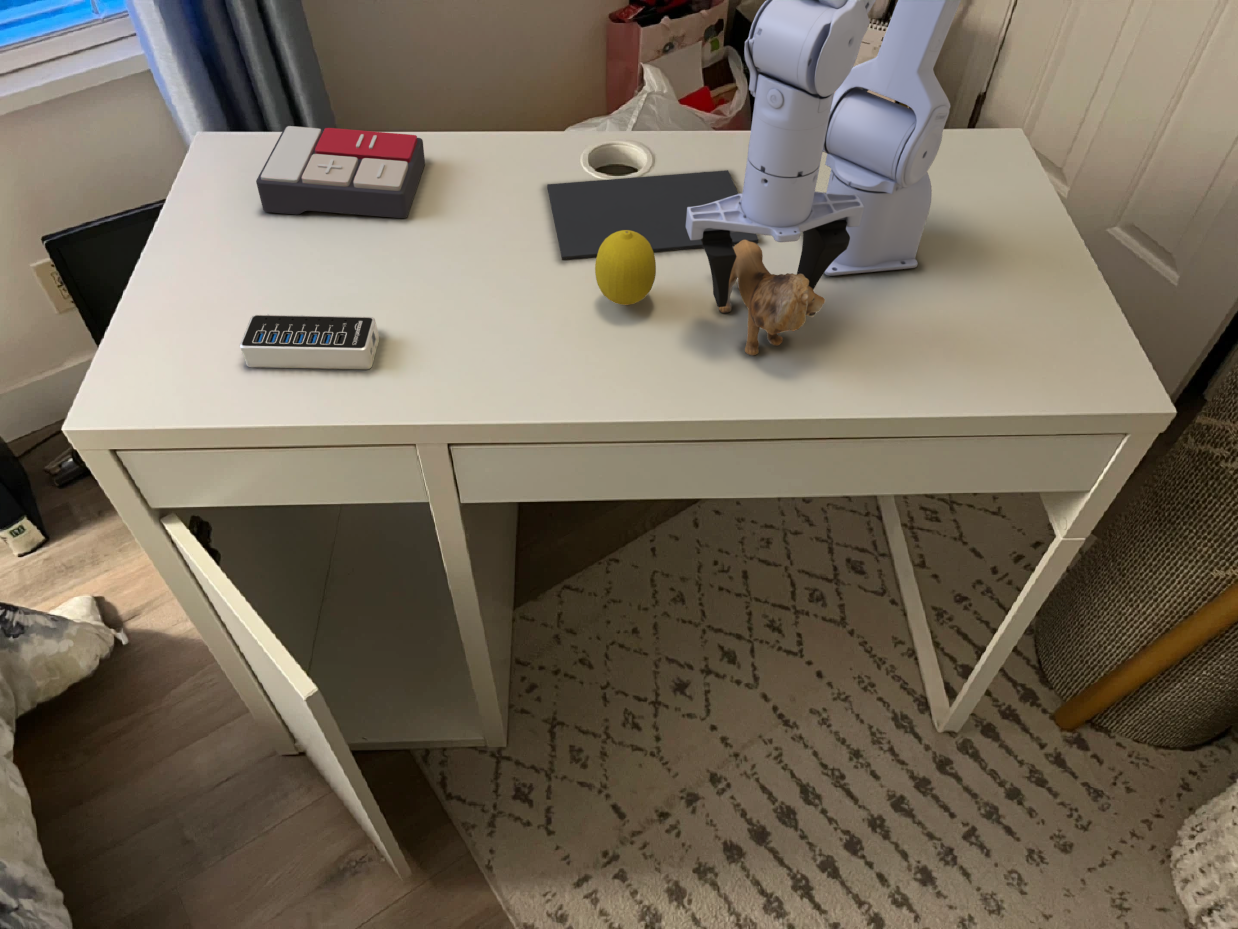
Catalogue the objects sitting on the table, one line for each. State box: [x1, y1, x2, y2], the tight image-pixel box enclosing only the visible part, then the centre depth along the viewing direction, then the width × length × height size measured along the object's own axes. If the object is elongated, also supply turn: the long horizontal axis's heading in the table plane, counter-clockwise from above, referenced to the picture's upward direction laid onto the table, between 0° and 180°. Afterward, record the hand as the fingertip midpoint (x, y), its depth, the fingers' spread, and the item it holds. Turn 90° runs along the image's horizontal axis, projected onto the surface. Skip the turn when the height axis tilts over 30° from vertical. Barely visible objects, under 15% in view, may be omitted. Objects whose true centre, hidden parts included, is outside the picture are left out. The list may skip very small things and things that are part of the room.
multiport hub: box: [239, 314, 380, 370], centre depth 83 cm, size 4×11×2 cm, turn 89°
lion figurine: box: [718, 240, 826, 356], centre depth 84 cm, size 15×5×9 cm, turn 25°
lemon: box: [594, 230, 657, 306], centre depth 86 cm, size 6×6×8 cm
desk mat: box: [546, 169, 760, 261], centre depth 98 cm, size 20×13×1 cm, turn 99°
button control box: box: [255, 125, 426, 219], centre depth 99 cm, size 11×4×15 cm
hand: (761, 296), depth 84 cm, fingers open, 7 cm apart
